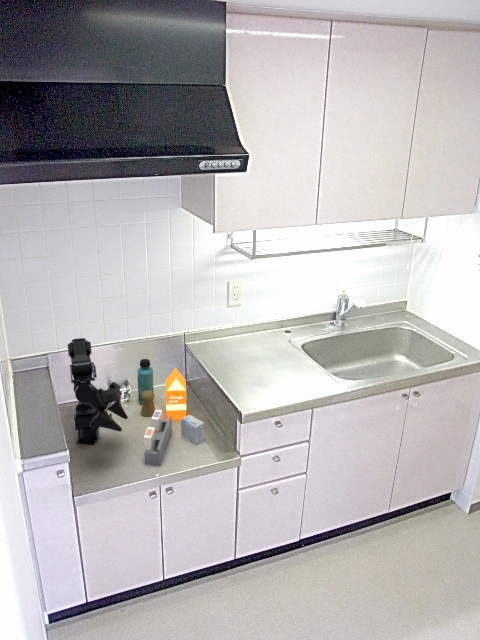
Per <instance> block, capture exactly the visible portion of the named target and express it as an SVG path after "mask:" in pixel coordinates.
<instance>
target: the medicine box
mask: <svg viewBox="0 0 480 640" xmlns="http://www.w3.org/2000/svg"><path fill="white" fill-rule="evenodd" d="M180 423H181V424H180V425H181V426H180V427H181V429H180V430H181V433H180V434H181V436H182V437H184V438H185V439H187V441H188V440H189V441H190V442H191V443H193V444H195V445H197V444H199V443H201V442H202V441H204V439H205V422H203V421H202V420H200V419H198V418H197V417H195V416H193V415H191V414H188V415H186V417H184V418H182V419H181V420H180Z"/></svg>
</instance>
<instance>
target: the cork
mask: <svg viewBox="0 0 480 640" xmlns="http://www.w3.org/2000/svg"><path fill="white" fill-rule="evenodd" d="M141 399H142V400H143V401H142V403H141V411H140V414H141V416H142V417H143V418H152V416H153V414H154V412H155V410H156V406H155V401H154V400H155V391H154V392H153V391H151V390H145V391H143V392H142V393H141ZM153 399H154V400H153Z"/></svg>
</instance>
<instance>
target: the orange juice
mask: <svg viewBox="0 0 480 640" xmlns="http://www.w3.org/2000/svg"><path fill="white" fill-rule="evenodd" d="M186 381H187V380H186V378H185V377H184V376H183V375H182V373H181V372H180V371H179V369H177V367H175V368H174V369H173V370H172V372H171V373H169V376H167V378H166V379H165V396H166V398H165V399H166V401H165V402H166V403H165V404H166V406H165V407H166V409H165V410H166V420H168V418H169V416H172V422H173V421H181V419H182V418H184V417H186V416H187V385H186V384H187V382H186Z"/></svg>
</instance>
